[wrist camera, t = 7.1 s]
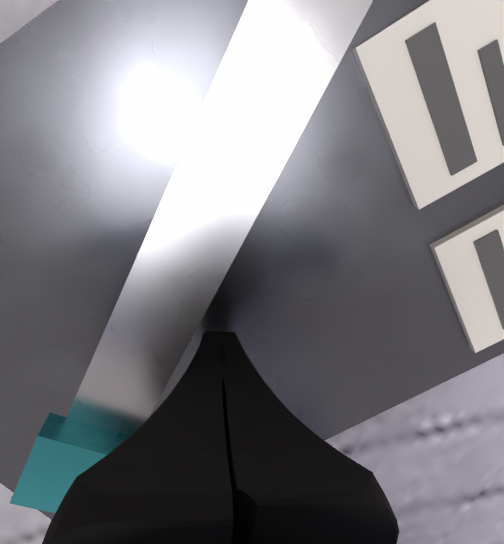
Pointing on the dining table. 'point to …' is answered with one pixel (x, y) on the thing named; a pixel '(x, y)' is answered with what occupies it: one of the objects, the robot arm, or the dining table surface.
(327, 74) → the bar
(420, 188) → the label
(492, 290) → the label
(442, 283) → the tray
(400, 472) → the dining table surface
